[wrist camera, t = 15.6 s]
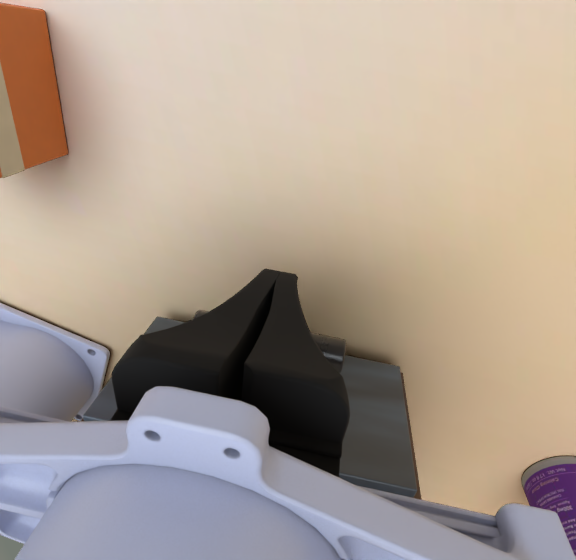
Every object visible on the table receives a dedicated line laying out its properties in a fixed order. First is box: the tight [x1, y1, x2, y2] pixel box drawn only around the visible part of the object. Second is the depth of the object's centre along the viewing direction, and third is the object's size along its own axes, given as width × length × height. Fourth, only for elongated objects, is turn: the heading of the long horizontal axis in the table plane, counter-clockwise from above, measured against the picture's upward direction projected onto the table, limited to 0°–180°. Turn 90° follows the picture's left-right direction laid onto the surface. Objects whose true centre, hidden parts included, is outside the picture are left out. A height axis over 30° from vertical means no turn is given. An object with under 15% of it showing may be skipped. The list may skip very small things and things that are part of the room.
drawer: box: [83, 310, 417, 498], centre depth 20 cm, size 18×13×7 cm
